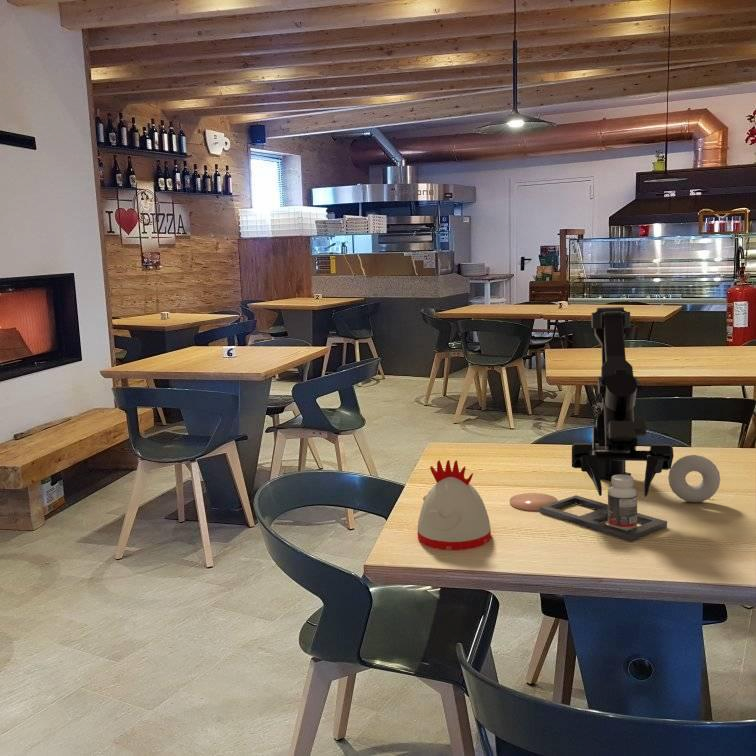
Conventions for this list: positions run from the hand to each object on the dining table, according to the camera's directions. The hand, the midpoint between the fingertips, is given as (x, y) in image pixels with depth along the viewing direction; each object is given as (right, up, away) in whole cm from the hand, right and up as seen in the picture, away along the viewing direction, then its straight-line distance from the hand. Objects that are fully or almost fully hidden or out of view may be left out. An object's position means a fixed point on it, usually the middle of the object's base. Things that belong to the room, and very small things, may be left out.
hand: (623, 495), depth 151 cm
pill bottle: (+1, -6, +2) cm, 7 cm away
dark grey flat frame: (-2, -6, +6) cm, 9 cm away
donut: (+19, -4, +14) cm, 24 cm away
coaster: (-13, -4, +18) cm, 23 cm away
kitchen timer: (-32, -8, +1) cm, 33 cm away
